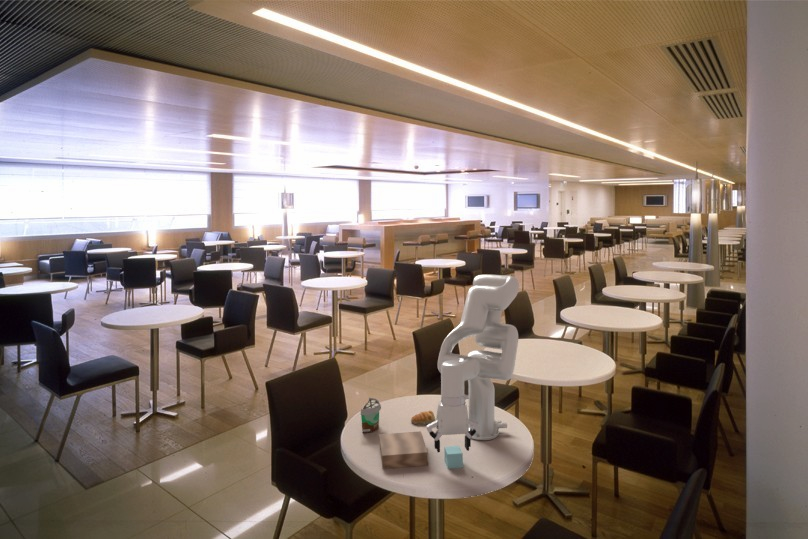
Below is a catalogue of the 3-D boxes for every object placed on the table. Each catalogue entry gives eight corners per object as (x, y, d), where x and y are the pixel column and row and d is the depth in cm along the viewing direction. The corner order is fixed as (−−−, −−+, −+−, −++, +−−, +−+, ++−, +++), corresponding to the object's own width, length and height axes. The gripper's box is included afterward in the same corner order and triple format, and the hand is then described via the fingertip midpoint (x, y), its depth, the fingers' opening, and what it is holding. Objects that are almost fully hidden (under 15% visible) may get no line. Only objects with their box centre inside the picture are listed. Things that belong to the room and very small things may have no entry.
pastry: (414, 427, 185) (414, 418, 185) (408, 420, 191) (408, 411, 191) (436, 423, 189) (436, 413, 188) (429, 416, 195) (429, 407, 194)
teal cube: (459, 459, 161) (459, 445, 160) (462, 467, 156) (462, 453, 155) (444, 460, 160) (444, 446, 159) (447, 468, 155) (447, 454, 154)
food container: (377, 436, 178) (376, 410, 177) (361, 435, 179) (360, 409, 178) (385, 421, 190) (384, 397, 189) (370, 420, 191) (369, 396, 190)
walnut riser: (421, 443, 172) (421, 431, 172) (427, 465, 157) (427, 452, 157) (379, 446, 171) (379, 434, 170) (382, 468, 156) (382, 455, 155)
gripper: (475, 393, 159) (475, 442, 161) (424, 396, 158) (424, 445, 159) (481, 402, 152) (481, 453, 154) (428, 404, 150) (428, 456, 152)
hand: (452, 449), depth 157 cm, fingers open, 9 cm apart
